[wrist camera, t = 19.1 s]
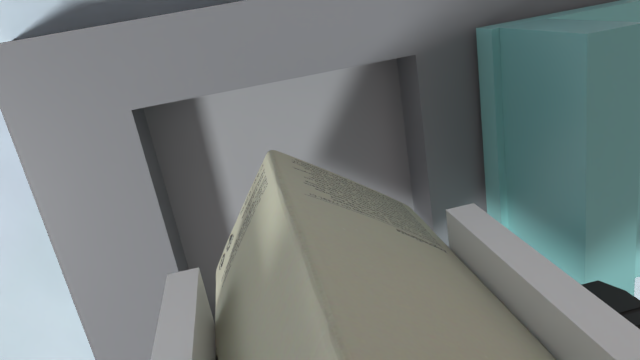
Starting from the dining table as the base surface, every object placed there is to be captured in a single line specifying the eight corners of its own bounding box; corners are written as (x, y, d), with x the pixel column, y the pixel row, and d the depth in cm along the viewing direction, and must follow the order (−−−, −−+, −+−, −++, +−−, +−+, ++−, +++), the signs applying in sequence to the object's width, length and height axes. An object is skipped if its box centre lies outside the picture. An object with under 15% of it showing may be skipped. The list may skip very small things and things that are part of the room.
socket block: (133, 389, 21) (123, 434, 19) (9, 41, 17) (-24, 46, 14) (579, 274, 24) (616, 302, 22) (580, -59, 19) (628, -67, 17)
